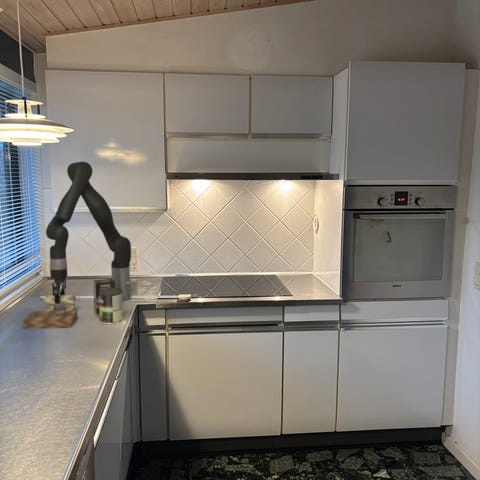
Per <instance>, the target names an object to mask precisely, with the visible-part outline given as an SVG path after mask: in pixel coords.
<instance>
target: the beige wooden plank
mask: <svg viewBox="0 0 480 480" xmlns="http://www.w3.org/2000/svg"><path fill="white" fill-rule="evenodd" d="M76 299H77V298H76V294H65V295H60V303H59V304H60V305H61V304H65V306H66V311H76V309H75V307H76V306H75V305H76V304H75V303H76V301H77V300H76ZM44 302H45V303H44V304H45V305H46V311H56V304H55V296H53V295H52V294H50V295H48V294H47V295H46V296H44Z"/></svg>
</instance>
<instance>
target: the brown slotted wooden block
mask: <svg viewBox="0 0 480 480" xmlns="http://www.w3.org/2000/svg"><path fill="white" fill-rule="evenodd" d="M78 317H79V315H78V310H75V311H67V310H55V311H47V310H32V311H30V312H29V314H27V315H26V316H25V317H24V318H23V319H22V329H23V330H27V329H26V328H29V330H30V328H31V330H32V328H34V329H35V330H36V329H37V328H39V329H67V328H66V327H71V328H73V326H74V325H75V323H76V322H77V320H78V319H79V318H78ZM73 324H74V325H73Z"/></svg>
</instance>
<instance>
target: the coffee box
mask: <svg viewBox="0 0 480 480" xmlns="http://www.w3.org/2000/svg"><path fill="white" fill-rule="evenodd" d="M92 284H93V285H92V286H93V314H94V315H95V316H96V317H100V309H99V290H101V289H105V288H115V281H114V280H113V279H112V278H106V279H105V278H104V279H94V280H93V283H92Z"/></svg>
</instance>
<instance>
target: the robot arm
mask: <svg viewBox="0 0 480 480" xmlns="http://www.w3.org/2000/svg"><path fill="white" fill-rule="evenodd" d="M92 175H93V167H92V165H91V164H90V163H88V162H87V161H79V162H78V161H77V162H76V161H75V162H72V163H70V164H69V165H68V166H67V176H68V178H69V180H70V181H71V184H70V187H69V188H68V190H67V192H65V194H64V196H63V197H62V199H61V200H60V201H59V202H60V203H59V205H58V207H57V210H56V213H55V215H54V216H53V217H52V218H51V220H50V222H49V223H48V224H47V226H46V230H45V236H46V237H47V239H49V240H52V241H53V240H54V245H51V246H50V247H49V259H50V260H49V271H50V272H49V274H50V278H51V279H54V282H52V283H51V284H52V285H51V286H52V287H51V289H52V291H51V292H52V294H51V295H53V296H55V305H57V304H59V303H60V295H66V289H67V279H66V278H67V277H68V261H67V245H68V242H69V241H68V240H69V236H70V234H69V230H68V228H67V227H66V226H64V225H65V224H67V223H69V222H70V221H71V219H72V216H73V214H74V212H75V209H76V206H77V203H79V200H80V197H82V199H83V202H84V203H85V205H86V207H87V209H88V211H89V212H90V214H91V216H92V218H93V219H94V221H95V223H96V224H97V226H98V227H99V229H100V230H101V232H102V235H103V237H104V239H105V242H106V243H107V246H108V248H109V250H110V251H111V252H112V253H113V260H112V261H111V279H113V280H114V281H115V288H119V289H122V302H123V301H130V300H131V299H132V298H131V297H132V283H131V282H132V280H131V273H130V272H131V270H130V269H131V267H130V266H131V261H132V245H131V241H130V239H129V238H128V237H126V236H122V235H121V233H120V232H119V231H118V229H117V227H116V225H115V223H114V218H113V213H112V210H111V208H110V206H109V204H108V203H107V200H106V199H105V198H104V197H103V196H102V195H101V193H100V192H99V191H97V190H96V189H95V188H94V187H93V186H92V184H91V182H90V179H91V178H92Z"/></svg>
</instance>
